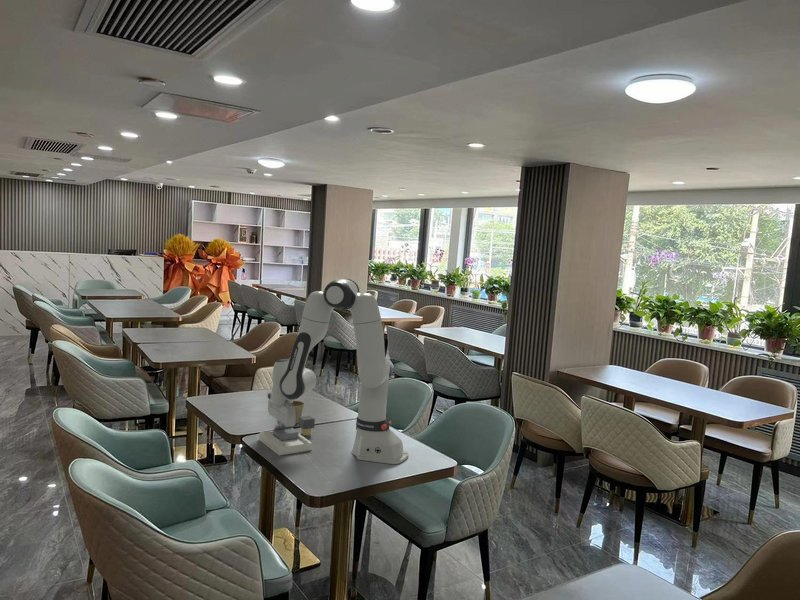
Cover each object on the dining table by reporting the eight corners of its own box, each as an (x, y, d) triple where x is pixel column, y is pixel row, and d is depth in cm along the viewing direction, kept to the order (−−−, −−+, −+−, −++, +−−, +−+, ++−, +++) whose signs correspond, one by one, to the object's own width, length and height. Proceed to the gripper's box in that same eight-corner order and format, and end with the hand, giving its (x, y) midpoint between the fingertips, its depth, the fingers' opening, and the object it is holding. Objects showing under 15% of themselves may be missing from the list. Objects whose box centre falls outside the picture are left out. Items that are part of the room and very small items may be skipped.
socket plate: (311, 450, 231) (312, 440, 231) (278, 455, 223) (279, 445, 223) (290, 435, 247) (291, 426, 247) (259, 439, 239) (259, 430, 239)
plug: (313, 435, 249) (314, 418, 249) (303, 436, 247) (304, 420, 246) (308, 431, 253) (309, 415, 253) (298, 433, 251) (298, 416, 250)
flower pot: (292, 426, 260) (293, 407, 259) (278, 421, 265) (279, 402, 265) (308, 422, 267) (309, 403, 267) (293, 417, 273) (294, 399, 272)
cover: (298, 438, 234) (298, 430, 234) (279, 440, 230) (279, 432, 230) (290, 433, 240) (291, 425, 240) (272, 435, 236) (272, 427, 235)
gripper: (300, 403, 231) (298, 437, 232) (280, 391, 248) (278, 423, 249) (285, 405, 228) (283, 439, 229) (265, 392, 244) (264, 425, 246)
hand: (281, 431), depth 239 cm, fingers closed
